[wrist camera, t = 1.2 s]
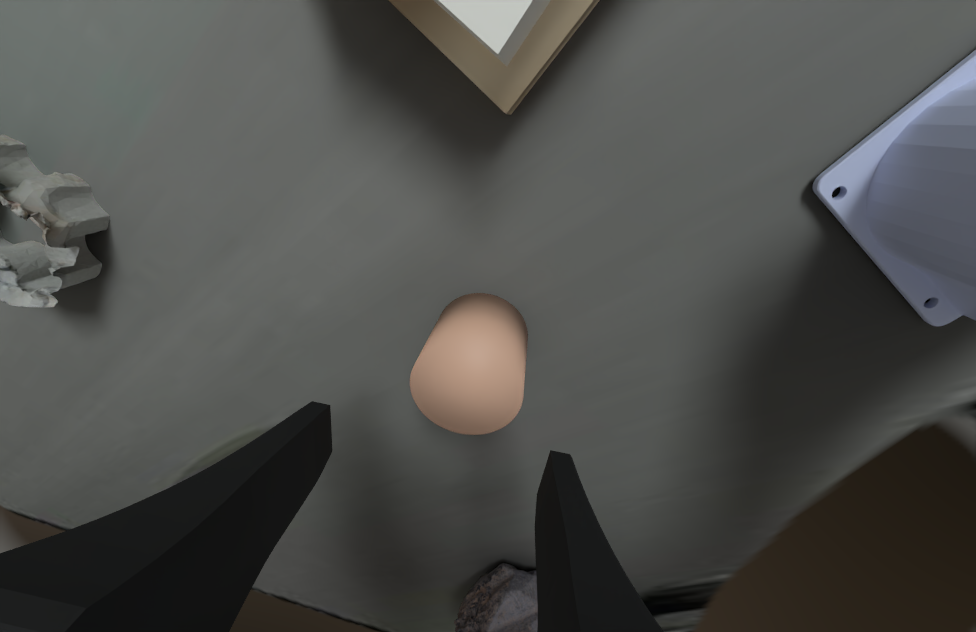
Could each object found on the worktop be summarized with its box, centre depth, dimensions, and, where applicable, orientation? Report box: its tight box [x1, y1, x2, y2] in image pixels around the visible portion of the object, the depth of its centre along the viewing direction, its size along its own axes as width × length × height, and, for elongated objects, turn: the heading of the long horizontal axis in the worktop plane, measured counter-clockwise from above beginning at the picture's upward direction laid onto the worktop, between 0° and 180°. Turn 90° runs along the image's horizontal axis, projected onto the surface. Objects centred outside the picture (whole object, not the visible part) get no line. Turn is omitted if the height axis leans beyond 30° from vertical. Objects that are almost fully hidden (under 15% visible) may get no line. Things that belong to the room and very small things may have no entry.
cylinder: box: [410, 293, 528, 435], centre depth 19 cm, size 5×5×5 cm
